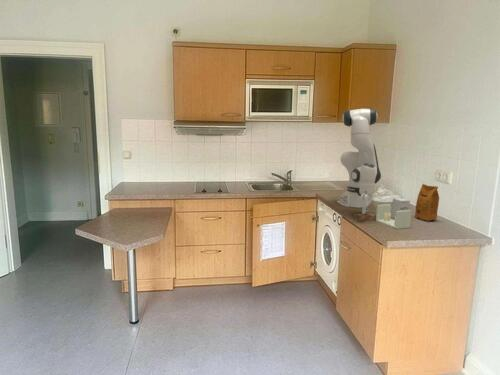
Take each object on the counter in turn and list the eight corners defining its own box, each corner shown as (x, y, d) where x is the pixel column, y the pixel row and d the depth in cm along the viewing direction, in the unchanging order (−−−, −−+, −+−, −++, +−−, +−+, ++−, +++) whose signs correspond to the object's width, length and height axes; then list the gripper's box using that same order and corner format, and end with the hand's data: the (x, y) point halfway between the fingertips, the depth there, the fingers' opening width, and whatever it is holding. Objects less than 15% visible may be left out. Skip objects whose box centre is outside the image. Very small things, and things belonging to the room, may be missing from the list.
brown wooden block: (357, 221, 220) (357, 215, 219) (353, 219, 225) (354, 213, 224) (377, 221, 222) (378, 215, 221) (373, 218, 227) (374, 213, 226)
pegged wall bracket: (375, 220, 221) (376, 205, 219) (388, 219, 224) (389, 204, 223) (396, 228, 204) (398, 211, 203) (410, 227, 208) (411, 210, 206)
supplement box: (398, 220, 223) (400, 200, 221) (390, 217, 230) (392, 198, 228) (408, 219, 225) (410, 200, 223) (400, 216, 232) (402, 197, 230)
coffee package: (423, 215, 236) (427, 183, 232) (439, 220, 225) (443, 186, 221) (411, 216, 233) (415, 183, 229) (427, 221, 221) (431, 186, 217)
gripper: (369, 192, 209) (367, 215, 211) (374, 188, 227) (373, 209, 229) (358, 191, 212) (356, 214, 214) (364, 187, 230) (362, 208, 232)
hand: (365, 212), depth 222 cm, fingers open, 8 cm apart
